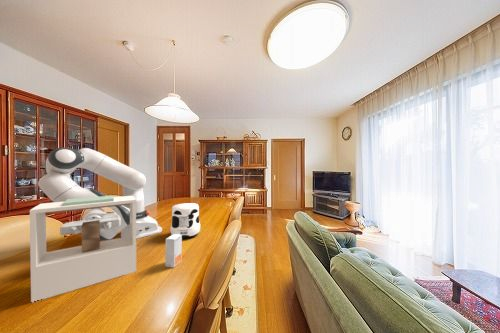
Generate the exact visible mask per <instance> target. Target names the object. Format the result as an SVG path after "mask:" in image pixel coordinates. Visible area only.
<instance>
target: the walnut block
mask: <svg viewBox="0 0 500 333" xmlns="http://www.w3.org/2000/svg"><path fill="white" fill-rule="evenodd" d="M100 242H101V240H100V220H97V221H90V222H83V224H82V232H81V246H82V253H85V252H89V251H94V250H99V249H100Z"/></svg>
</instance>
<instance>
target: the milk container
mask: <svg viewBox="0 0 500 333" xmlns="http://www.w3.org/2000/svg"><path fill="white" fill-rule="evenodd" d="M199 214H200V206H199V204H198V203H194V202H190V203H189V202H188V203H187V202H186V203H178V204H174V205H172V207H171V224H170V234H171V235H173V234H180V235H182V239H188V238H192V237H194V236H196V235H198V234H199V233H200V231H201V223H200V218H199V217H200V216H199ZM171 235H170V236H171Z"/></svg>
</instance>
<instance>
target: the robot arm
mask: <svg viewBox="0 0 500 333" xmlns="http://www.w3.org/2000/svg"><path fill="white" fill-rule="evenodd" d="M77 168H78V169H79V168H81V169H86V170H88V171H90V172H92V173H94V174H96V175H98V176H101V177H103V178H105V179H108V180H110V181H112V182H114V183H116V184H118V185H120V186H122V187H121V188H122V197H123V196H133V197H134V198H135V199H136V240H138V239H141V238H145V237H149V236H152V235H157V234H160V233H162V232H163V228H162V226H160V225H159V223H158V221H157V219H155V218H153V217H152V216H149V215H150V214H151V211H148V210H147V209H145V193H144V187H145V186H146V184H147V177H146V175H145V174H144V173H142V172H141V171H139V170H136V169H134V168H132V167H131V166H128V165H126V164H124V163H122V162H120V161H118V160H116V159H114V158H112V157H110V156H108V155H107V154H104V153H102V152H99V151H97V150H94V149H92V148H88V147H83V148H80V149H76V148H75V149H73V148H70V147H64V146H63V147H57V148H54V149H53V150H52V151H50V152H49V154H48V155H47V158H46V159H45V165H44V171H45V174H44V175H43V176H42V177H41V178H40V179H39V180H38V182H37V185H38V188H40V190H41V191H42V192H43V194H45V195H46V196H47V197H48V198H49V199H50V200H51V201H52V202H65V201H66V200H67V199H76V198H89V197H101V196H107V195H106V194H104V193H103V192H101V191H100V190H99V191H98V190H97V189H94V188H91V189H87V188H84V187H82V186H80V185H79V184H78V183H77V182H76V181H74V180H73V179H72V177H71V175H72V174H73V173H74V172H75V171H76V170H77ZM108 208H110V209H111V210H112V211H111V212H110V211H105V209H103V208H94V209H87V211H86V212H85V214H84V215H83V217H82V219H81V220H75V221H69V222H65V223H63V224H62V225H61V226H60V228H59V234H60V236H66V235H74V236H76V235H79V234H80V233H81V234H82V224H83V222H90V221H97V220H100V241H107V240H112V239H114V238H115V236H116V235H118V234H119V233H120V235H119V236H120V237H119V238H122V237H128V236H130V205H121V206H112V207H108Z"/></svg>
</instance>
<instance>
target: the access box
mask: <svg viewBox="0 0 500 333" xmlns="http://www.w3.org/2000/svg"><path fill="white" fill-rule="evenodd" d="M121 205H123V206H124V205H130V236H128V237H122V238H121V237H118V238H112V239H110V240H101V241H100V249H99V250H94V251H89V252H85V253H82V245H78V246H73V247H67V248H62V249H61V248H60V249H57V250H52V251H47V221H46V220H47V215H48V214H57V213H65V212H74V211H82V210H83V211H85V210H90V209H94V208H102V209H103V208H109V207H112V206H121ZM29 249H30V250H29V252H30V255H29V256H30V258H29V259H30V303H31V302H32V303H35V302H34V301H36V302H38V301H37V300H39V301H42V300H46V299H48V298H53V297H55V296H58V295H59V296H60V295H62V294H65V293H69V292H72V291H75V290H78V289H82V288H86V287H89V286H92V285H96V284H99V283H102V282H105V281H109V280H112V279H116V278H119V277H122V276H125V275H130V274H133V273H136V272H137V239H136V199H135V198H134V197H133V196H123V195H122V196H114V195H106V196H101V197H89V198H76V199H67V200H66V201H65V202H54V201H52V202H45V203H43V202H42V203H39V204H38V205H35V206H34V207H32V208H31V209H30V210H29ZM41 299H42V300H41Z"/></svg>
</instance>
